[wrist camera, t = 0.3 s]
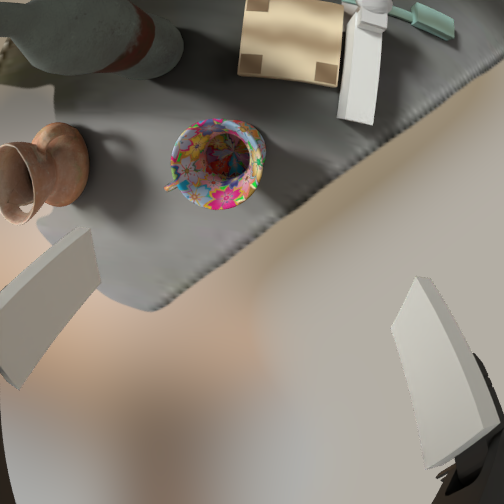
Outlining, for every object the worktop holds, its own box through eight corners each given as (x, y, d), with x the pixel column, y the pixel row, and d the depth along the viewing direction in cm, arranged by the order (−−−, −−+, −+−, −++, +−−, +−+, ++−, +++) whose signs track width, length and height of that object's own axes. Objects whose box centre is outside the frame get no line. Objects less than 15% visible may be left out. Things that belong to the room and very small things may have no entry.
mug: (251, 105, 32) (236, 102, 23) (281, 168, 36) (278, 189, 26) (173, 145, 36) (136, 159, 26) (203, 201, 39) (176, 232, 30)
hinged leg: (344, 3, 23) (357, -19, 16) (373, 11, 22) (392, -8, 16) (333, 117, 31) (345, 118, 24) (363, 123, 31) (382, 127, 24)
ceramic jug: (67, 218, 44) (18, 254, 31) (30, 164, 39) (-23, 188, 26) (120, 154, 37) (60, 178, 25) (76, 93, 32) (12, 100, 20)
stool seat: (252, -25, 22) (244, -48, 16) (446, 22, 20) (470, 12, 14) (240, 76, 30) (229, 68, 24) (440, 119, 28) (467, 124, 22)
